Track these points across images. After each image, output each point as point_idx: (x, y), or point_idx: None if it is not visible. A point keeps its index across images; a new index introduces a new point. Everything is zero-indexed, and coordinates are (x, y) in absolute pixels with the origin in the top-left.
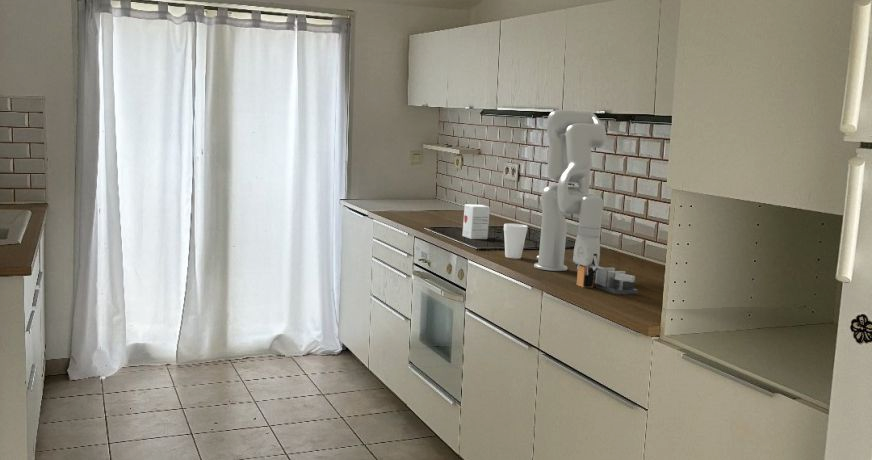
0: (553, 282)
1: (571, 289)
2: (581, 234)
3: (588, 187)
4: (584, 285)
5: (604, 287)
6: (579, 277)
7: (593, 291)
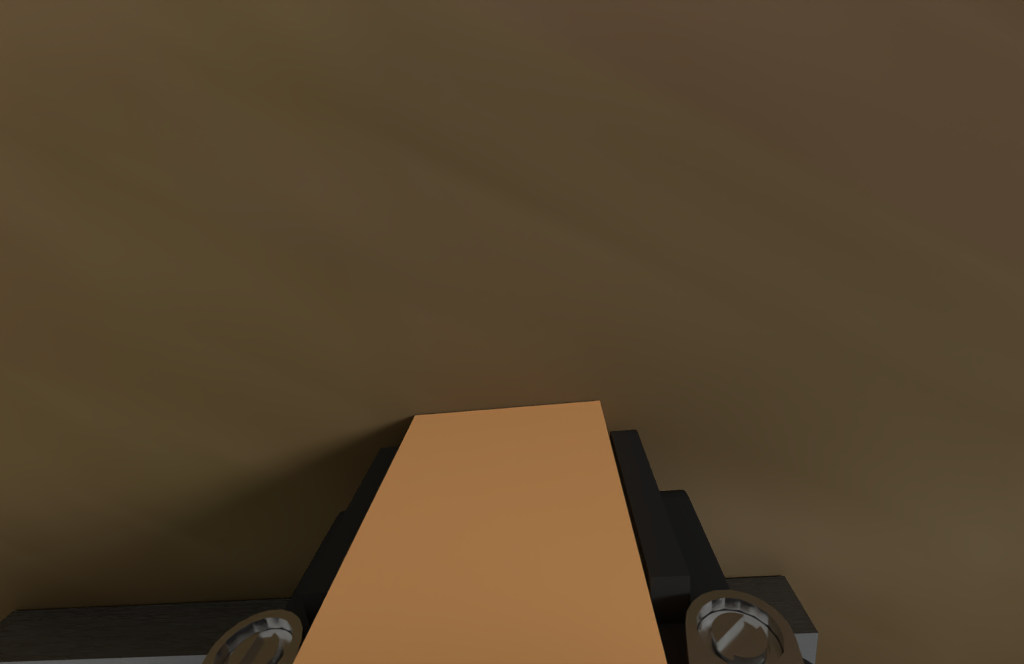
0: (884, 37)
1: (211, 133)
2: None
3: None
4: (383, 449)
5: (204, 640)
6: (527, 493)
7: (147, 445)
